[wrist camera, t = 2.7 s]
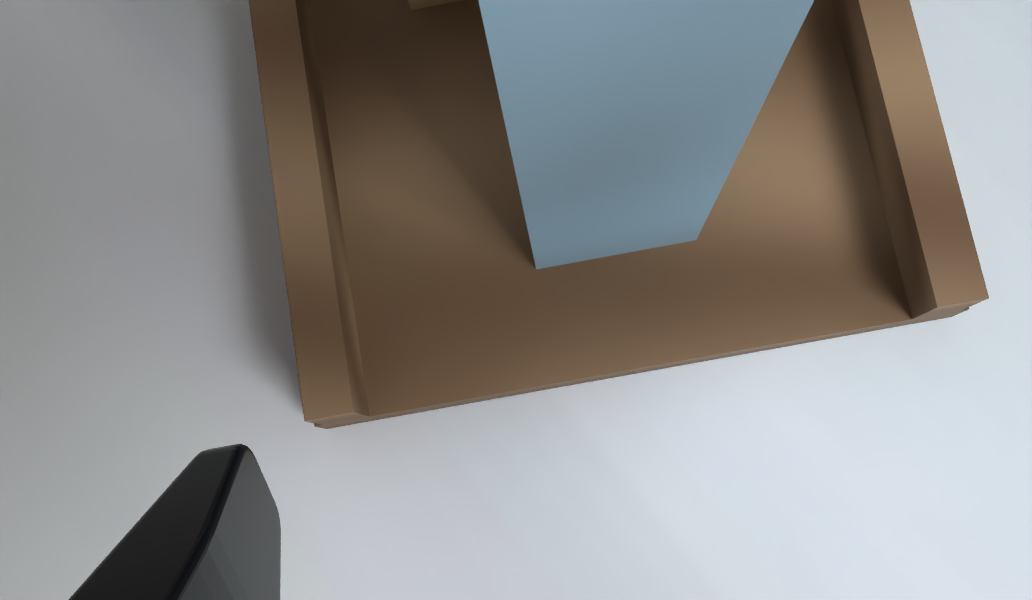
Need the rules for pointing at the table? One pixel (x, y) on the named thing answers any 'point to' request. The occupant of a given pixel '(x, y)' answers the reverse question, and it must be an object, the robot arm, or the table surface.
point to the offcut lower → (427, 3)
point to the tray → (602, 281)
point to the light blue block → (629, 112)
